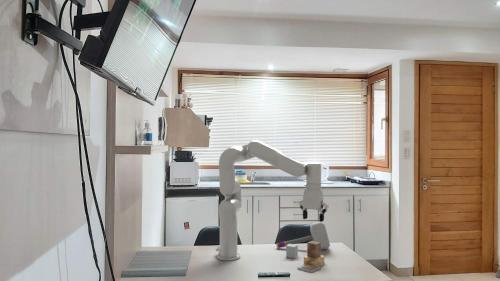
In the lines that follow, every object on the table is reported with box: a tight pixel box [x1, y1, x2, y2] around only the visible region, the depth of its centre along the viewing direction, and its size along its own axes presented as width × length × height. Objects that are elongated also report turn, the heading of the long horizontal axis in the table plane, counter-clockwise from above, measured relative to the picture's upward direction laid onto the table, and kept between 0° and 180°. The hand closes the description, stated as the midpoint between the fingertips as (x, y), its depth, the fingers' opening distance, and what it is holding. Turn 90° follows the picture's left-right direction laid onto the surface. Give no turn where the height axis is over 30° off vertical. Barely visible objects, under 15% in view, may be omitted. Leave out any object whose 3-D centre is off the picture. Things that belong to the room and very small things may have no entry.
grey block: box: [285, 243, 299, 259], centre depth 198 cm, size 5×5×6 cm
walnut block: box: [306, 240, 322, 258], centre depth 185 cm, size 5×5×7 cm
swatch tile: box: [297, 264, 322, 274], centre depth 176 cm, size 8×8×1 cm
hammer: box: [275, 220, 331, 251], centre depth 213 cm, size 15×8×30 cm
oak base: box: [303, 254, 325, 268], centre depth 185 cm, size 8×8×4 cm
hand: (313, 220), depth 186 cm, fingers open, 9 cm apart
